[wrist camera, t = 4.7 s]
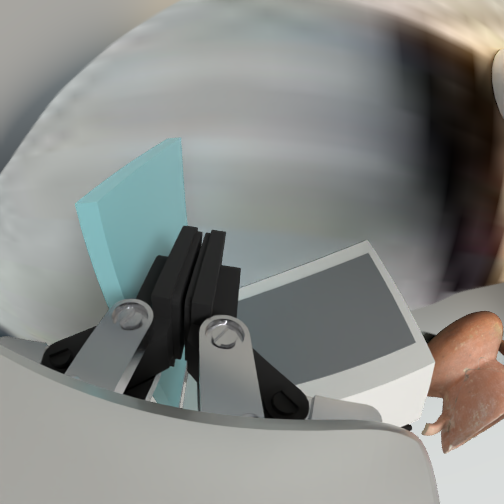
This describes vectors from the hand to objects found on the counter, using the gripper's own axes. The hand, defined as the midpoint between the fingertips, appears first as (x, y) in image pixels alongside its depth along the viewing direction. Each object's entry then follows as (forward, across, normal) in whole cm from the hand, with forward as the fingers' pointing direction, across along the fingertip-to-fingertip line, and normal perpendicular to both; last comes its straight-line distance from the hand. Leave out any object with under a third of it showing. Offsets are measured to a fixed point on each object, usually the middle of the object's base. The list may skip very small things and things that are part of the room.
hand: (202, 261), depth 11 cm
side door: (+7, +2, +4) cm, 8 cm away
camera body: (+8, -8, +10) cm, 15 cm away
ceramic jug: (+8, -31, +13) cm, 35 cm away
